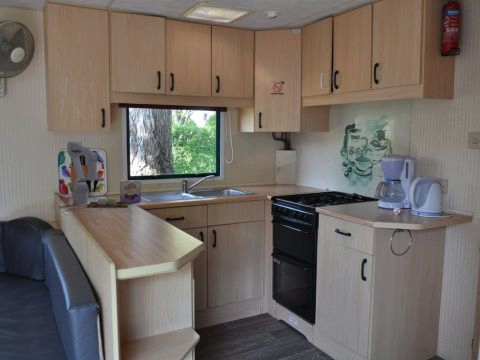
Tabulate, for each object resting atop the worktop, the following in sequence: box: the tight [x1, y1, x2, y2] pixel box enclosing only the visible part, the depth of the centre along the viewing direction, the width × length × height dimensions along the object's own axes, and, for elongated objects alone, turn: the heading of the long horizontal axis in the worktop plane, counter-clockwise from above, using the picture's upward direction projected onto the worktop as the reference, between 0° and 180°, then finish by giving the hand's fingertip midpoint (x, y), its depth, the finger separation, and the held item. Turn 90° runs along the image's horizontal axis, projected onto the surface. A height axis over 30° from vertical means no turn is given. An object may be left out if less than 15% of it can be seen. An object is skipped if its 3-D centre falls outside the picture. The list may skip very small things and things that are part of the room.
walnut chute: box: [86, 201, 130, 208], centre depth 282 cm, size 25×13×3 cm, turn 100°
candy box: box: [119, 179, 142, 203], centre depth 301 cm, size 14×6×16 cm, turn 105°
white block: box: [97, 197, 108, 204], centre depth 281 cm, size 5×6×5 cm
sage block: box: [107, 197, 117, 204], centre depth 282 cm, size 5×6×5 cm
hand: (92, 192), depth 279 cm, fingers closed
